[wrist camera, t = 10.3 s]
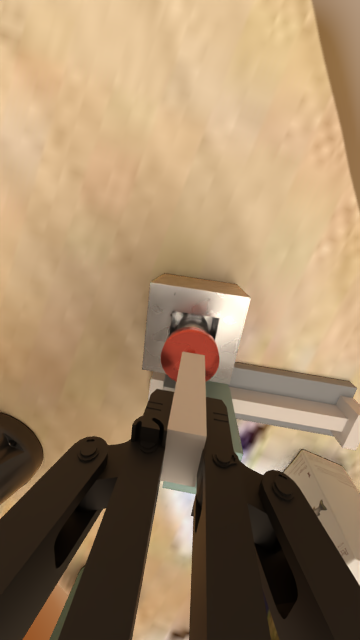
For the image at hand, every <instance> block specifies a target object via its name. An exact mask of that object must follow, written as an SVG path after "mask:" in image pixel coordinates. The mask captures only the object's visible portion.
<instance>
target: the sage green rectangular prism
mask: <svg viewBox="0 0 360 640" xmlns="http://www.w3.org/2000/svg"><path fill="white" fill-rule="evenodd" d="M205 385H206V397H209V398H215V399H220V400H222V401H223V402H224V404H225V405H226V407H227V411H228V418H229V424H230V431H231V437H232V444H233V449H234V452H235V453H236V454H237V456H238V458H239V460H240V461H241V459H242V456H243V451H242V446H241V441H240V436H239V431H238V426H237V422H236V417H235V412H234V407H233V402H232V397H231V392H230V388H229V386H228V384H224V383H218V382H212V381H206V382H205ZM196 482H197V481H196ZM163 488H166V489H172V490H177V491H182V492H187V493H192V494H196V485H195V487H191V486H186V485H181V484H176V483H171V482H166V481H164V482H163Z"/></svg>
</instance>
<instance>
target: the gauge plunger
mask: <svg viewBox="0 0 360 640" xmlns="http://www.w3.org/2000/svg"><path fill="white" fill-rule="evenodd" d="M182 352H188V353H194V354H200V355H205V382H206V381H208V380H209V379H211V378H212V377H213V376H214V375H215V373H216V372H217V369H218V367H219V362H220V361H219V352H218V347H217V344H216V342H215V340H214V338H213V337H212V336H211V335H210V334H209V329H208V323H207V321H206V319H205V318H204V317H203V316H201V315H196V314H186V315H185V316H183V317H182V318H181V319H180V321H179V324H178V327H177V330H176V331H174V332H173V333H172V334H171V335H170V336H169V337H168V338H167V340H166V341H165V344H164V346H163V349H162V352H161V364H162V367H163V369H164V371H165V373H166V374H167V375H168V376H169V377H170V378H171V379H172V380H174V381H176V382H177V376H178V371H179V366H180V361H181V356H182Z"/></svg>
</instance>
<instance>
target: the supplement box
mask: <svg viewBox="0 0 360 640" xmlns="http://www.w3.org/2000/svg"><path fill="white" fill-rule="evenodd" d="M283 473H284V474H286V475H288V476H289V477H290V478H291V479H292V480H294V482H295V483H296V484H297V485H298V487H299V488H300V489H301V491H302V493H303V494H304V496H305V498H306V499H307V501H308V502H309V504H310V506H311V507H312V509H313V510H314V512H315V514H316V515H317V517H318V519H319V520H320V522H321V523H322V525H323V527H324V528H325V530H326V532H327V533H328V535H329V536H330V538H331V540H332V541H333V543H334V545H335V546H336V548H337V549H338V551H339V553H340V554H341V556H342V558H343V559H344V561H345V562H346V564H347V566H348V567H349V569H350V571H351V572H352V574H353V575H354V577H355V579H356V580H357V582H358V584H359V585H360V492H359V491H358V489H357V488H356V486H355V485H354V483H353V482H352V480H351V478H350V477H349V475H348V474H347V472H346V471H345V469H344V468H343V466H340V465H338V464H336V463H333V462H331V461H329V460H326V459H324V458H322V457H319V456H317V455H315V454H312V453H310V452H307V451H305V450H301V452H300V453H299V455H298V456H297V457H296V458H295V460H294V461H293V462H292V463H291V464H290V466H289V467H288V468H287V469H286V470H285V471H284V472H283Z"/></svg>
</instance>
